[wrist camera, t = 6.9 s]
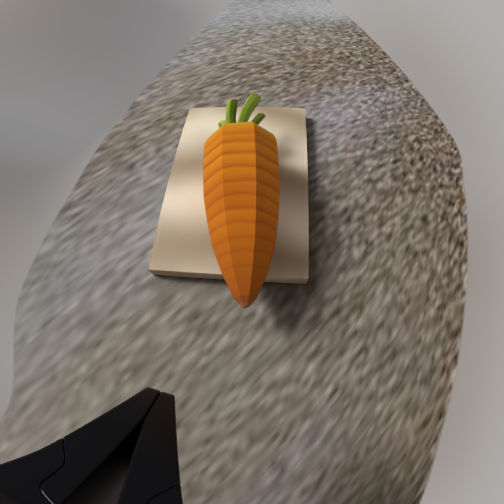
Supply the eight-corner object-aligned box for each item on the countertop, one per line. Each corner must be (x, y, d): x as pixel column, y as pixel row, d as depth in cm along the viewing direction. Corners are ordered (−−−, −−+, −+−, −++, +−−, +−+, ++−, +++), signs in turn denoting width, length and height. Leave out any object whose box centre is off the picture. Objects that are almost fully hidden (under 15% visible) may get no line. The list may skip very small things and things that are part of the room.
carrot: (189, 314, 18) (200, 120, 23) (271, 317, 19) (259, 131, 25) (208, 291, 13) (216, 72, 19) (312, 296, 15) (284, 88, 21)
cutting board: (306, 283, 20) (308, 278, 19) (153, 274, 21) (148, 269, 20) (304, 117, 26) (305, 108, 25) (191, 116, 27) (189, 108, 26)
